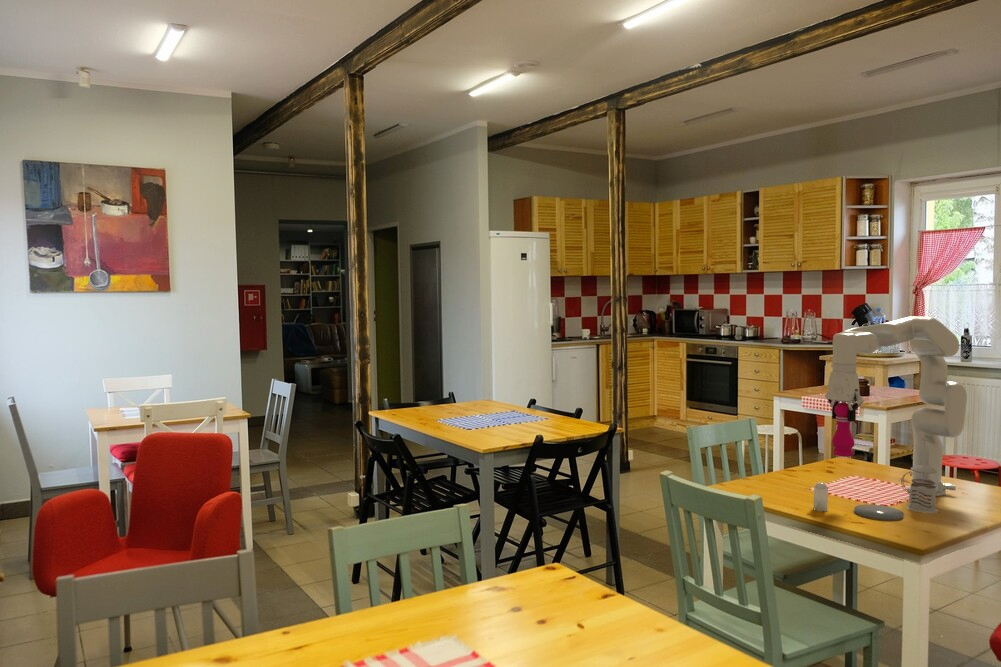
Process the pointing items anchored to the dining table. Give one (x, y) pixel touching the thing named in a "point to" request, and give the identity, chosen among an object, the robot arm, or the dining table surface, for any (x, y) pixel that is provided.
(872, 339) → the robot arm
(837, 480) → the dining table surface
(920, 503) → the french press
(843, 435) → the pepper mill
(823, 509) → the salt shaker
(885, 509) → the disc
